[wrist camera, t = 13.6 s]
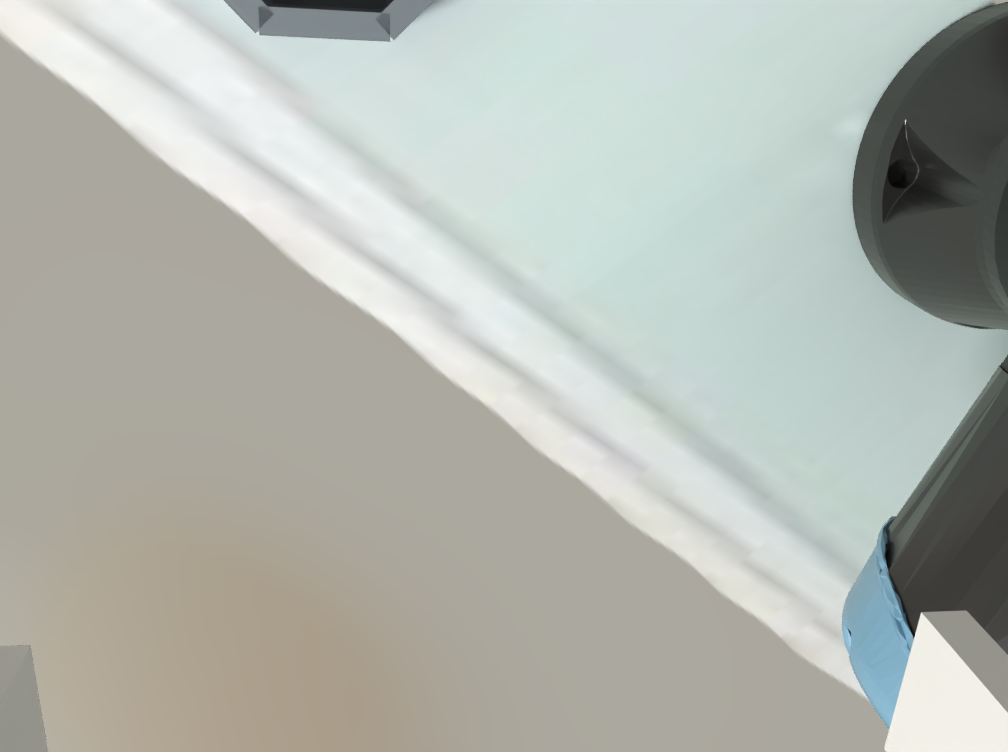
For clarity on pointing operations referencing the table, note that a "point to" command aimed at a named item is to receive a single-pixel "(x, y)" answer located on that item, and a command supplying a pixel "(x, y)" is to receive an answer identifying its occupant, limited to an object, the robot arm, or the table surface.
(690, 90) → the table surface
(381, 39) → the grey octagonal bowl
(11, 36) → the table surface
